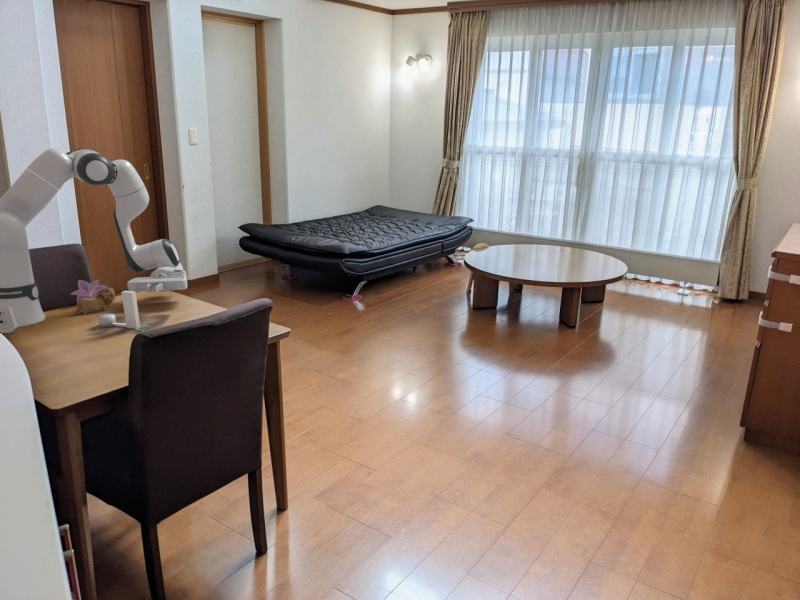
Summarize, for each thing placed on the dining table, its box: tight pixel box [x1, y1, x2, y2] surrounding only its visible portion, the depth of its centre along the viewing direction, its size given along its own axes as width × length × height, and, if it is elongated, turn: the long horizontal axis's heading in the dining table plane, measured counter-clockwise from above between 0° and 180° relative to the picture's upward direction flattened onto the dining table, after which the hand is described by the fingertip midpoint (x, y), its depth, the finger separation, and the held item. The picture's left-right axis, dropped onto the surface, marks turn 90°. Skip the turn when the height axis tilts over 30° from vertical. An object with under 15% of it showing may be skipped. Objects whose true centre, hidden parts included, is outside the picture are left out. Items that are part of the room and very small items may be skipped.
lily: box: [70, 279, 108, 303], centre depth 226 cm, size 12×12×10 cm
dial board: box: [86, 314, 172, 336], centre depth 197 cm, size 21×19×2 cm
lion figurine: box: [75, 287, 116, 316], centre depth 211 cm, size 15×5×9 cm, turn 133°
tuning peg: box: [97, 290, 140, 329], centre depth 194 cm, size 14×5×12 cm, turn 74°
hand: (152, 289), depth 209 cm, fingers closed
